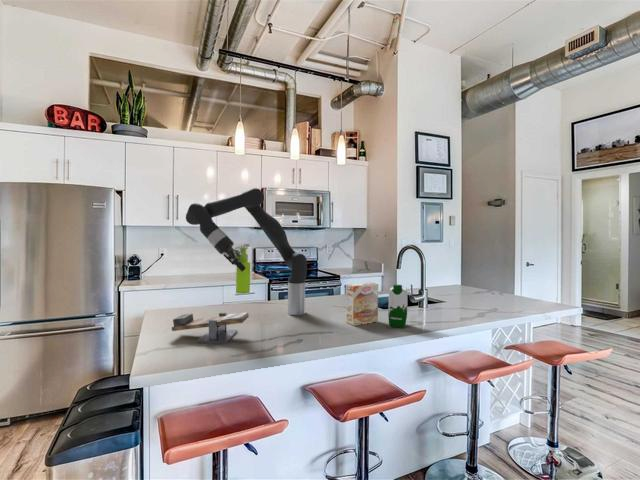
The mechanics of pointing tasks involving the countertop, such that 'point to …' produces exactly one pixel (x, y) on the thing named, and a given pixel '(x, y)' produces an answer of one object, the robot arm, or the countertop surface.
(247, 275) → the soap dispenser
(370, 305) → the coffeecake box
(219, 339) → the seesaw stand
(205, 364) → the countertop surface
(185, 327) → the seesaw board
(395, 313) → the milk carton
